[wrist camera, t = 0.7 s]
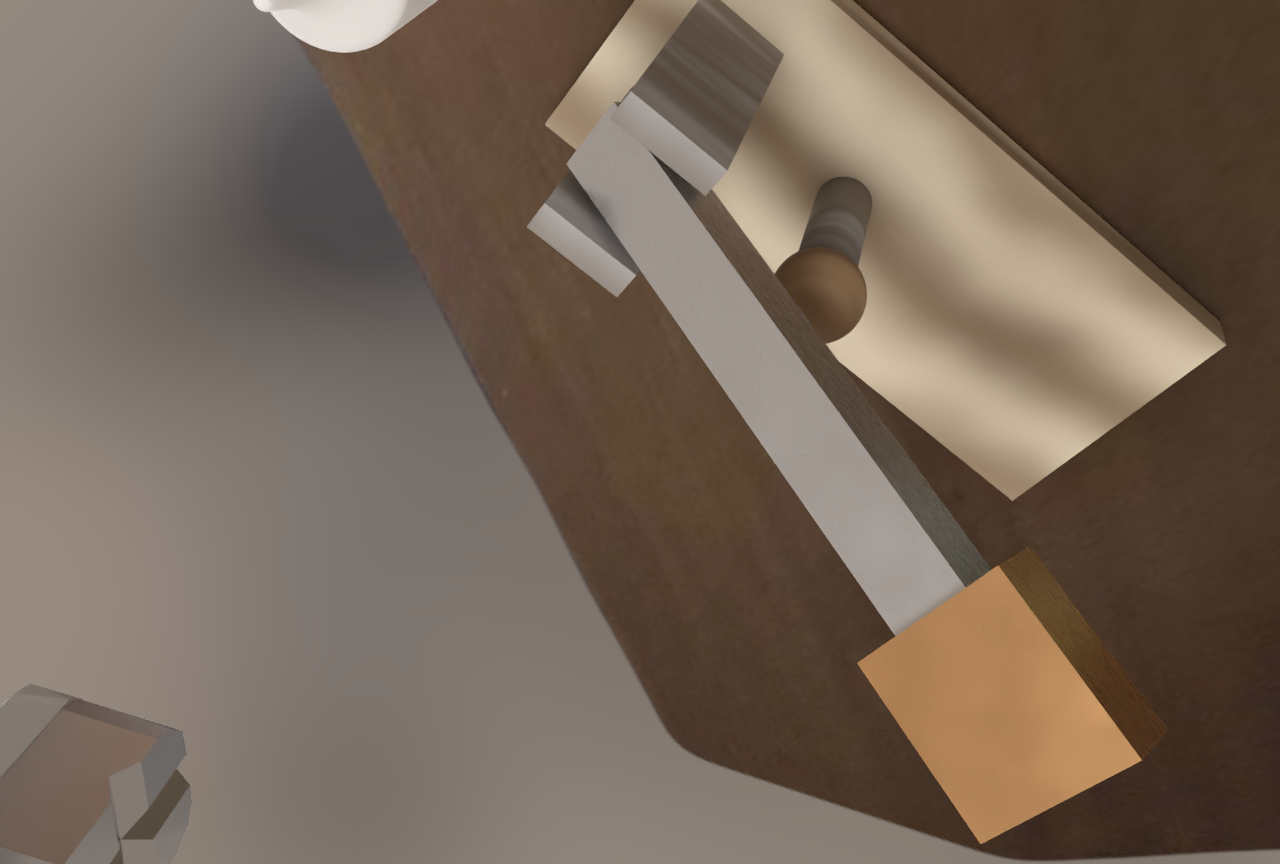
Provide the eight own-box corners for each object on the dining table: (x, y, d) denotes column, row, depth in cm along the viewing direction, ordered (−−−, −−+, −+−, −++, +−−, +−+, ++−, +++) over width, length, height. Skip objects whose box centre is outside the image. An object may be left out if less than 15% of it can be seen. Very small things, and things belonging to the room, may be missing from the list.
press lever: (674, 72, 42) (631, 68, 41) (1167, 730, 35) (1142, 760, 33) (580, 192, 46) (536, 193, 44) (1011, 813, 39) (980, 844, 37)
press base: (721, -116, 48) (631, -21, 37) (1220, 321, 53) (1273, 520, 42) (558, 108, 55) (441, 244, 44) (1012, 476, 60) (1010, 681, 49)
